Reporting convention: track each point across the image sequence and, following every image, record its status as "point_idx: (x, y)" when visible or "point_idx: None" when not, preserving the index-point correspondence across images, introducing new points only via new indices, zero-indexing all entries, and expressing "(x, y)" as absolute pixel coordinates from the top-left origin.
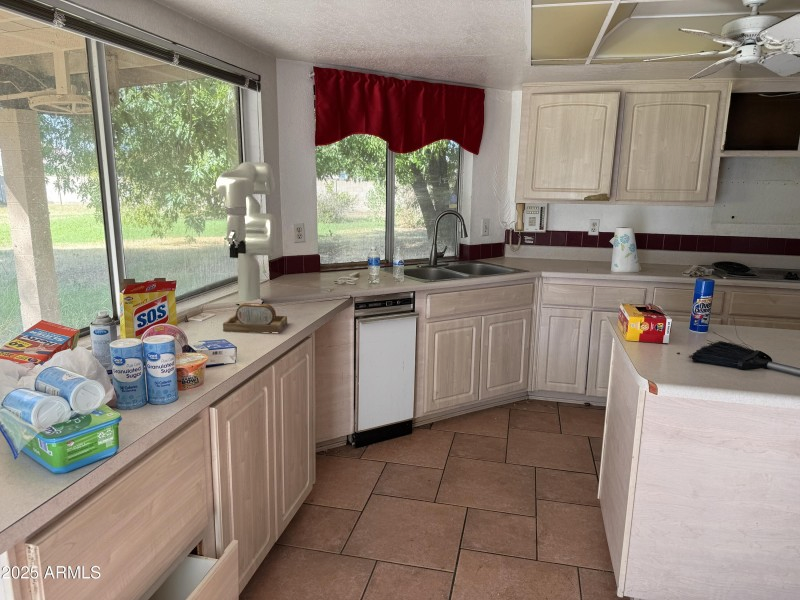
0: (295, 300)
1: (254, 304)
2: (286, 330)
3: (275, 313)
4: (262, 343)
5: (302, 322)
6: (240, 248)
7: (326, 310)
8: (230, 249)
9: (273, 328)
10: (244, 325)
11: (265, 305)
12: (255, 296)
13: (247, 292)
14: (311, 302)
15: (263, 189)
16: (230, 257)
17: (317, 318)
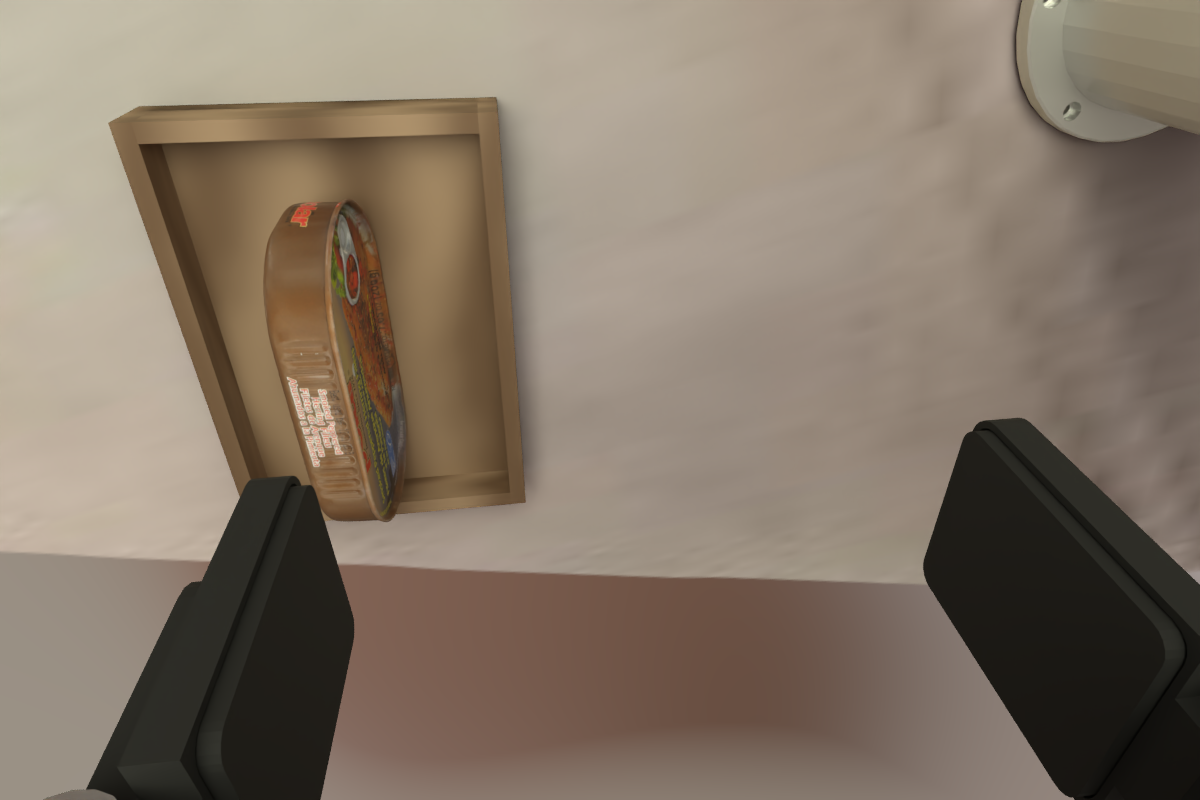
0: (1161, 344)
1: (323, 417)
2: None
3: (393, 505)
4: (18, 476)
5: (568, 534)
6: (1024, 585)
7: (861, 570)
8: (164, 711)
9: None
10: (178, 313)
11: (334, 501)
12: (1119, 100)
13: (1150, 27)
14: (1078, 452)
15: None
16: (254, 489)
17: (673, 576)
